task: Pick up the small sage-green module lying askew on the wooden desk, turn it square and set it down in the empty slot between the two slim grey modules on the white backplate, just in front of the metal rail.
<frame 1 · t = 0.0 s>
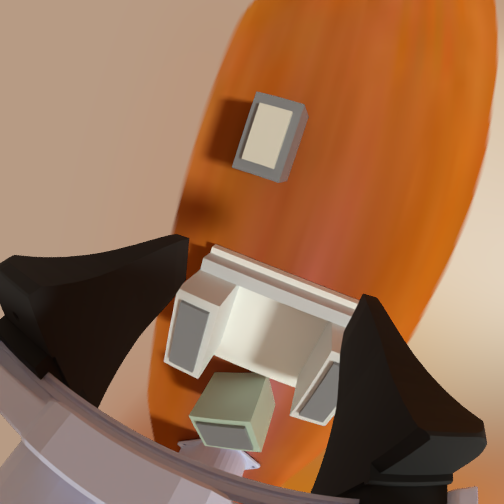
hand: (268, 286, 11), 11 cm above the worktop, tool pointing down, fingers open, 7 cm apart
green module: (245, 388, 26), on the worktop
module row: (274, 326, 23), on the worktop
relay: (278, 142, 19), on the worktop
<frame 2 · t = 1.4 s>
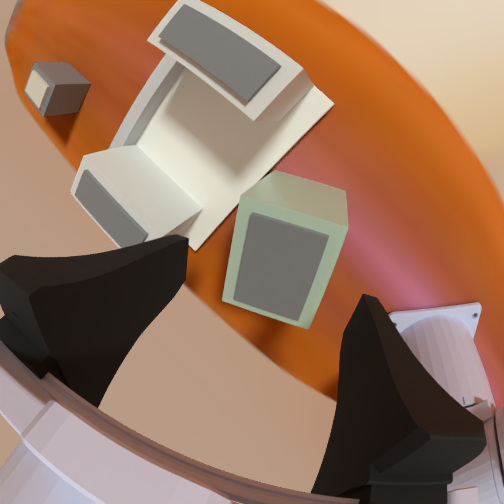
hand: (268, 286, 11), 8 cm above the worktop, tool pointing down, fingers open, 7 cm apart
green module: (299, 220, 18), on the worktop
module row: (203, 130, 17), on the worktop
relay: (72, 86, 18), on the worktop
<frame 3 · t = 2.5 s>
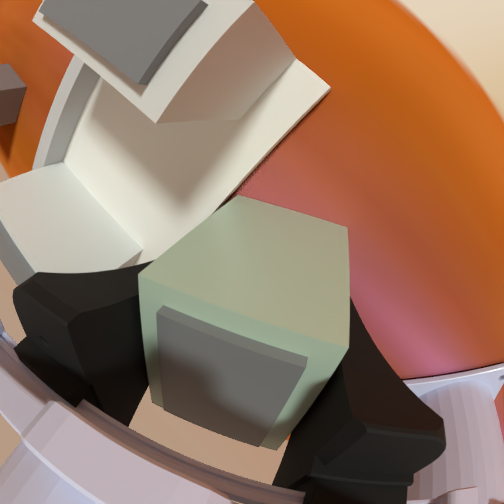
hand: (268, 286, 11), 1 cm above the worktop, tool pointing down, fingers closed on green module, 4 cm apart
green module: (276, 269, 12), on the worktop, touching gripper
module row: (138, 138, 11), on the worktop
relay: (12, 91, 12), on the worktop
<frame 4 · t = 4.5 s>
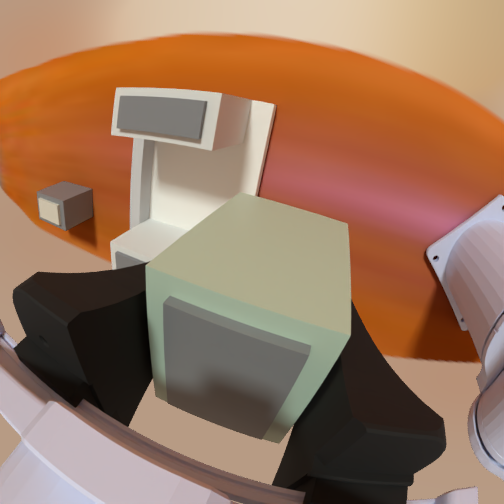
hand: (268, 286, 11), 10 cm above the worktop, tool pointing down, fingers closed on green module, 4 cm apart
green module: (277, 265, 12), point 8 cm above the worktop, touching gripper
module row: (194, 181, 21), on the worktop
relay: (78, 197, 25), on the worktop
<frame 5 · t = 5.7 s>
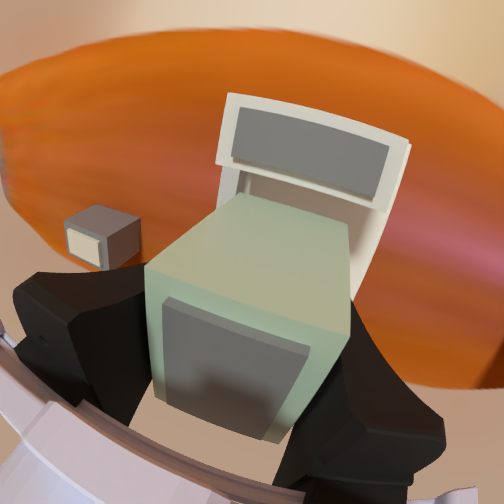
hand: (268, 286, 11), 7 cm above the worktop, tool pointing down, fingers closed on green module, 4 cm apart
green module: (277, 265, 12), point 6 cm above the worktop, touching gripper
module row: (297, 223, 17), on the worktop
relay: (117, 226, 22), on the worktop
when the fingers open (4 cm above the worktop, at t = 6.8 s): green module drops 1 cm, resting on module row.
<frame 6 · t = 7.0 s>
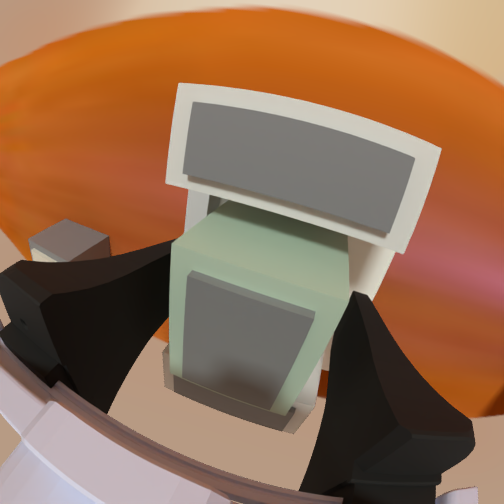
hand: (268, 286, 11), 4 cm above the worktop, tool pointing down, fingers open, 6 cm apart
green module: (282, 253, 13), point 1 cm above the worktop, touching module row
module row: (285, 247, 14), on the worktop
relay: (87, 244, 19), on the worktop
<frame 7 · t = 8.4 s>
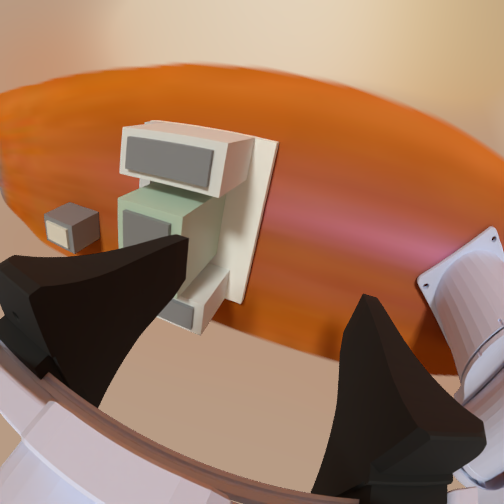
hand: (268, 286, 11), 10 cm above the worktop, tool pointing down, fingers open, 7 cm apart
green module: (194, 214, 22), point 1 cm above the worktop, touching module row
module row: (199, 212, 22), on the worktop
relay: (84, 219, 27), on the worktop
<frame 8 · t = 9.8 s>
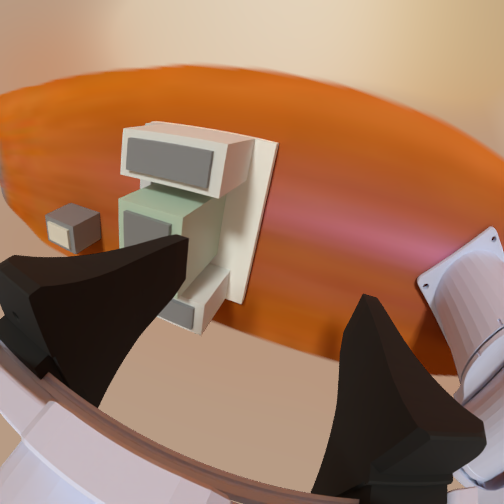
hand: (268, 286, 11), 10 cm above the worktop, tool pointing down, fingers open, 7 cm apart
green module: (195, 215, 22), point 1 cm above the worktop, touching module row
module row: (200, 212, 22), on the worktop
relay: (85, 219, 27), on the worktop
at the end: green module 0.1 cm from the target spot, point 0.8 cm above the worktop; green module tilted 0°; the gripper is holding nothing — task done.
